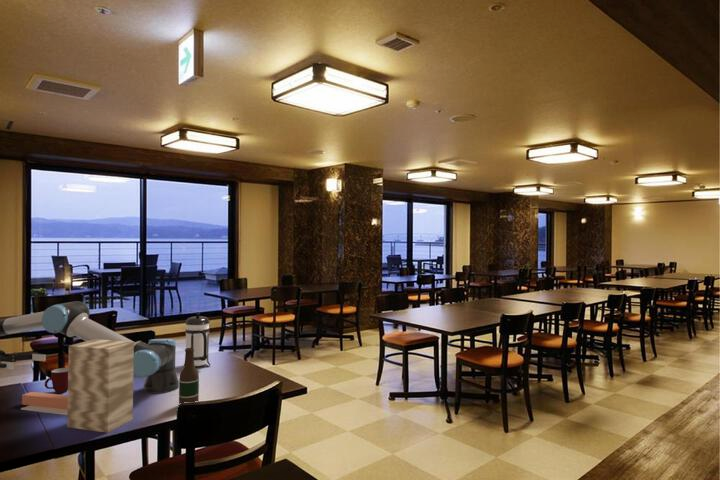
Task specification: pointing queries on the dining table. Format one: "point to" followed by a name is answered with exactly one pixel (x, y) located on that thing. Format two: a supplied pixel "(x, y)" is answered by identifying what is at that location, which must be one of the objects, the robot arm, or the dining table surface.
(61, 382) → the mug
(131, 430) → the dining table surface
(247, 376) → the dining table surface
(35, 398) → the pink long bar
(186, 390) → the beer bottle
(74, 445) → the dining table surface
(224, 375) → the dining table surface
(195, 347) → the coffee press
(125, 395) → the stand
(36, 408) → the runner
